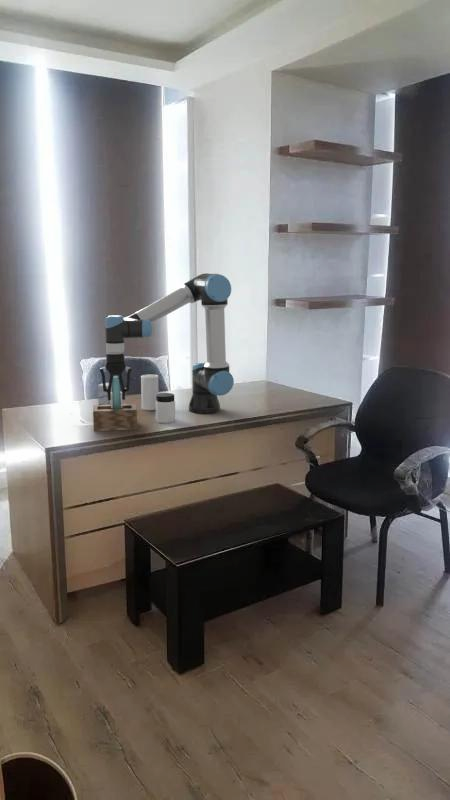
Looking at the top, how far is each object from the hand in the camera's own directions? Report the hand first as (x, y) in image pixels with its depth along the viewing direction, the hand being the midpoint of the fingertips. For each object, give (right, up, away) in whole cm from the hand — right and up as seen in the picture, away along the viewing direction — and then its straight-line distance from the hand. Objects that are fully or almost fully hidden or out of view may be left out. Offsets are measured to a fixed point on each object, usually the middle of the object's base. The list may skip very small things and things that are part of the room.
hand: (116, 407), depth 262 cm
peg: (0, -3, +1) cm, 3 cm away
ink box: (-11, -1, +36) cm, 38 cm away
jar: (+20, -7, +13) cm, 24 cm away
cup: (+10, -1, +36) cm, 38 cm away
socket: (-1, -8, +2) cm, 9 cm away
